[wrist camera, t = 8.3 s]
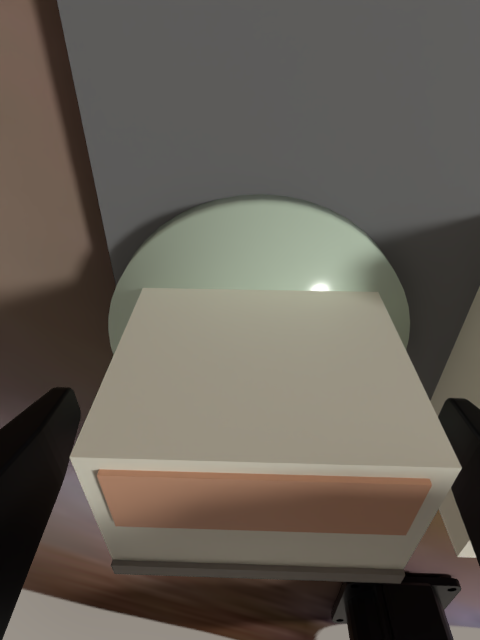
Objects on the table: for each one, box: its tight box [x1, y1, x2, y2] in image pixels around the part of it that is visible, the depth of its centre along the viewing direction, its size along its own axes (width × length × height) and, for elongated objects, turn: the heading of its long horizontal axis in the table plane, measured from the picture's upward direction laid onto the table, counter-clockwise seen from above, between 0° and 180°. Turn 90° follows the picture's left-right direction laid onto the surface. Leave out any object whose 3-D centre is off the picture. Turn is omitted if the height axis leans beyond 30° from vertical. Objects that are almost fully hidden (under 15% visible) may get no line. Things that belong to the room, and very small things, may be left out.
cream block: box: [69, 288, 462, 584], centre depth 9 cm, size 4×6×5 cm, turn 90°
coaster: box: [108, 194, 410, 355], centre depth 12 cm, size 8×8×1 cm
